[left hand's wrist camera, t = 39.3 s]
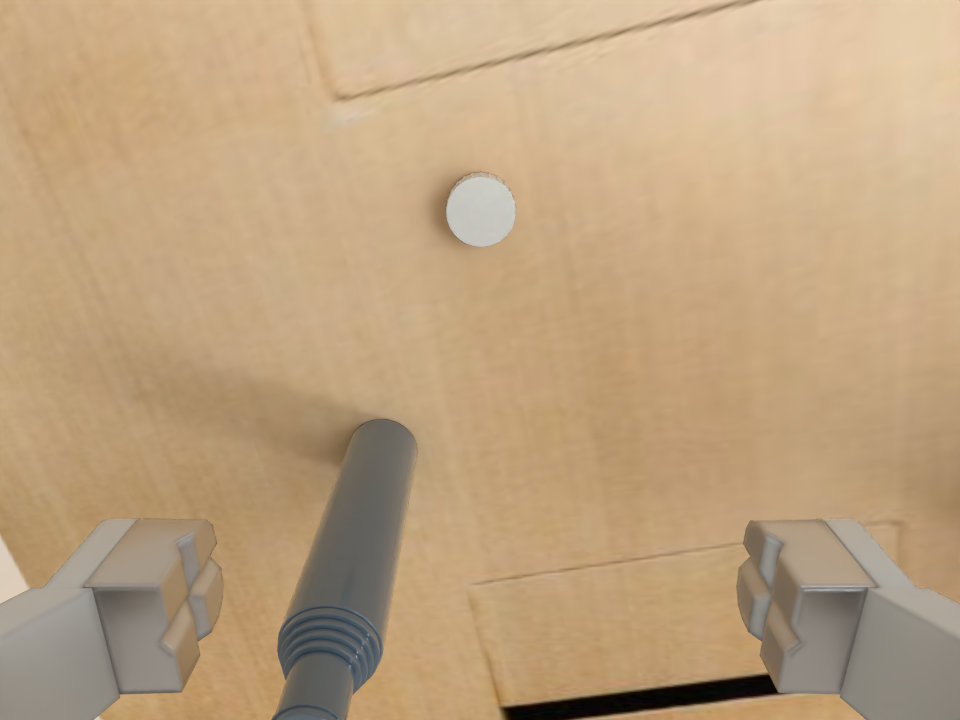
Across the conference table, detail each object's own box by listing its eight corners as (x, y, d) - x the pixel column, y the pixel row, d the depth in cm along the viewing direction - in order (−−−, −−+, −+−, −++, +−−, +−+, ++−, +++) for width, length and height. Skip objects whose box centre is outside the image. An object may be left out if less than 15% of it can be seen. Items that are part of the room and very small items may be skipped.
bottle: (365, 486, 49) (275, 795, 27) (338, 430, 47) (221, 713, 26) (427, 467, 48) (385, 768, 27) (402, 410, 47) (336, 681, 25)
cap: (528, 201, 41) (531, 207, 39) (485, 253, 43) (486, 262, 40) (475, 157, 40) (475, 160, 38) (433, 211, 42) (430, 218, 40)
